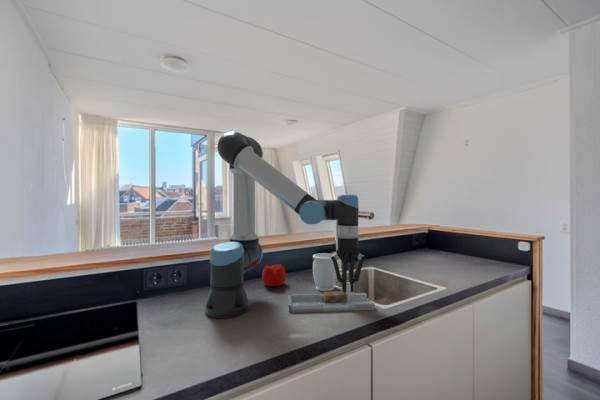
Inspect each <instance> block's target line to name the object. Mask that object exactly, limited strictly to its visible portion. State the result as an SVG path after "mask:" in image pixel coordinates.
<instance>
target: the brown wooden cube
mask: <svg viewBox="0 0 600 400" xmlns="http://www.w3.org/2000/svg"><path fill="white" fill-rule="evenodd" d="M333 292H334V293H335V294H336V303H342V302H347V294H346V293H345V292H343V290H339V291H337V290H336V291H335V290H334V291H333Z"/></svg>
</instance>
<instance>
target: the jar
mask: <svg viewBox="0 0 600 400" xmlns="http://www.w3.org/2000/svg"><path fill="white" fill-rule="evenodd" d="M334 254H335V253H328V252H323V253H322V252H320V253H314V254H312V258H313V261H312V275H313V281H314V284H315V289H316V290H318V291H323V292H331V291H333V290H334V289H335V287H334V286H335V284H336V280H337V276H336V272H335V268H334V264H333V261H332V259H331V258H330V256H331V255H334Z"/></svg>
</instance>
